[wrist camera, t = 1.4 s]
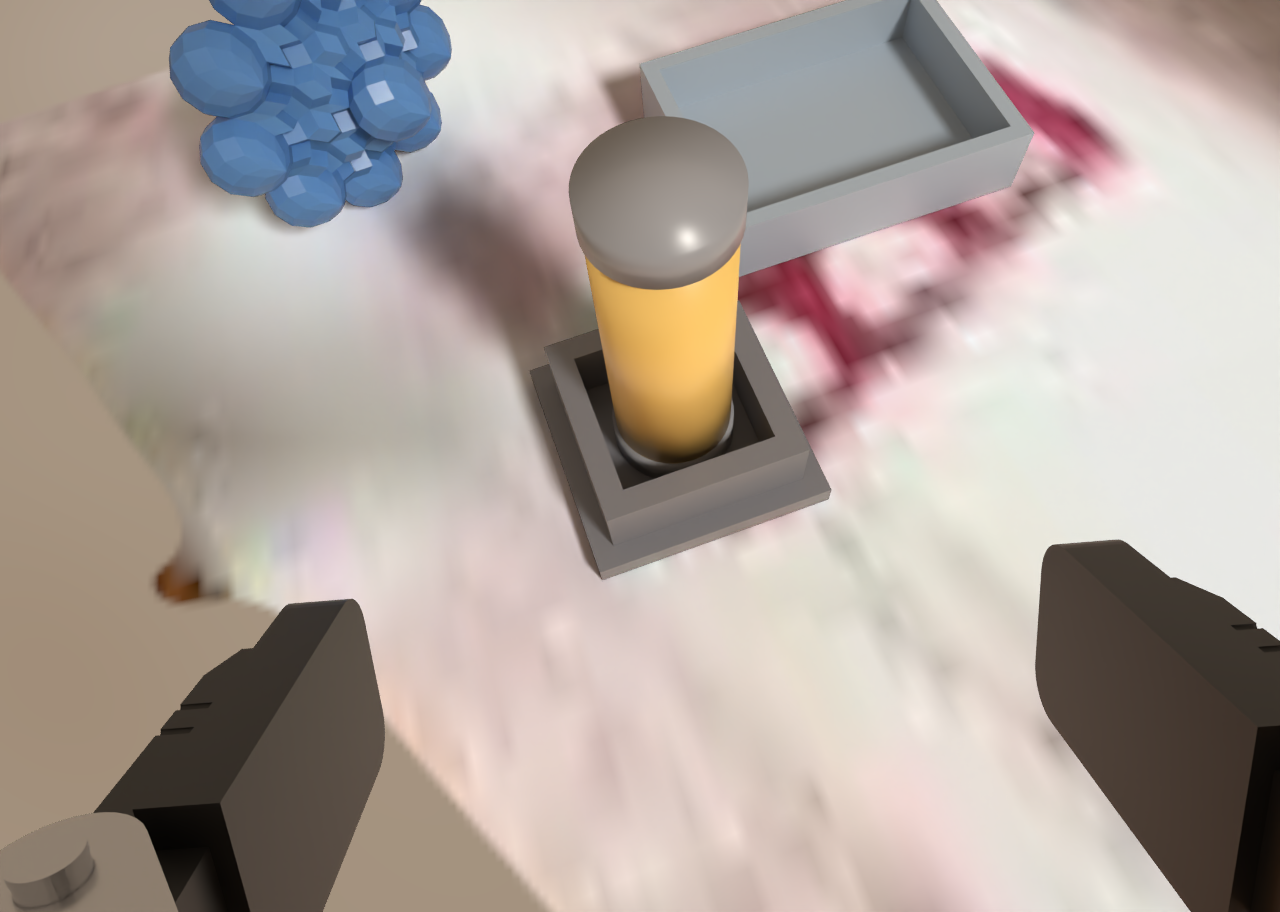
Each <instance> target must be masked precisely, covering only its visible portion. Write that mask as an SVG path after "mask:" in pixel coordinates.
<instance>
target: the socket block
mask: <svg viewBox="0 0 1280 912" xmlns="http://www.w3.org/2000/svg"><path fill="white" fill-rule="evenodd" d="M544 349H545V353H546V356H547V359H548V362H549V364H548V365H545V366H542V367H539V368H536V369H533V370H530V374H531V377H532V379H533V382H534V385H535V388H536V391H537V394H538V397H539V400H540V402H541V405H542V408H543V411H544V414H545V417H546V420H547V423H548V425H549V428H550V431H551V434H552V437H553V440H554V443H555V445H556V448H557V451H558V454H559V457H560V460H561V463H562V466H563V468H564V471H565V474H566V477H567V480H568V483H569V486H570V489H571V491H572V494H573V497H574V500H575V503H576V506H577V509H578V511H579V514H580V517H581V520H582V523H583V526H584V529H585V532H586V534H587V537H588V540H589V543H590V546H591V549H592V552H593V555H594V557H595V560H596V563H597V566H598V569H599V572H600V575H601V577H602V580H605V579H607V578H610V577H613V576H616V575H618V574H621V573H624V572H627V571H630V570H632V569H635V568H638V567H641V566H644V565H646V564H649V563H652V562H655V561H657V560H660V559H663V558H666V557H669V556H671V555H674V554H677V553H680V552H683V551H685V550H688V549H691V548H694V547H697V546H699V545H702V544H705V543H708V542H710V541H713V540H716V539H719V538H722V537H724V536H727V535H730V534H733V533H736V532H738V531H741V530H744V529H747V528H750V527H752V526H755V525H758V524H761V523H763V522H766V521H769V520H772V519H775V518H777V517H780V516H783V515H786V514H789V513H791V512H794V511H797V510H800V509H803V508H805V507H808V506H811V505H814V504H816V503H819V502H822V501H825V500H828V499H829V496H830V493H831V488H830V486H829V484H828V482H827V480H826V478H825V476H824V474H823V472H822V470H821V467H820V465H819V463H818V461H817V459H816V457H815V455H814V453H813V451H812V449H811V447H810V445H809V443H808V441H807V439H806V437H805V435H804V433H803V431H802V429H801V426H800V424H799V422H798V420H797V418H796V416H795V414H794V412H793V410H792V408H791V406H790V404H789V402H788V400H787V398H786V396H785V394H784V392H783V390H782V388H781V386H780V383H779V381H778V379H777V377H776V375H775V373H774V371H773V369H772V367H771V365H770V363H769V361H768V359H767V357H766V355H765V353H764V351H763V349H762V347H761V345H760V343H759V340H758V338H757V336H756V334H755V332H754V330H753V328H752V326H751V324H750V322H749V320H748V318H747V316H746V314H745V312H744V310H743V308H742V306H741V304H740V302H739V301H737V315H736V332H735V350H734V367H733V384H732V401H733V405H734V419H733V433H732V439H731V443H730V445H729V448H728V450H727V452H726V454H724V455H721V456H718V457H715V458H713V459H710V460H707V461H704V462H701V463H698V464H695V465H693V466H690V467H687V468H684V469H681V470H678V471H675V472H673V473H670V474H667V475H664V476H661V477H658V478H655V479H654V478H651V477H648V476H646V475H644V474H642V473H641V472H639V471H638V470H636V469H635V468H634V467H633V466H631V465H630V464H629V462H628V461H627V460H626V459H625V457H624V456H623V454H622V453H621V451H620V449H619V446H618V443H617V439H616V434H615V429H614V424H613V417H612V410H613V402H612V397H611V392H610V386H609V381H608V376H607V371H606V365H605V360H604V355H603V349H602V344H601V339H600V333H599V329H597V330H594V331H591V332H588V333H585V334H582V335H579V336H576V337H573V338H570V339H567V340H564V341H561V342H558V343H555V344H552V345H549V346H546V347H544Z"/></svg>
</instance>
